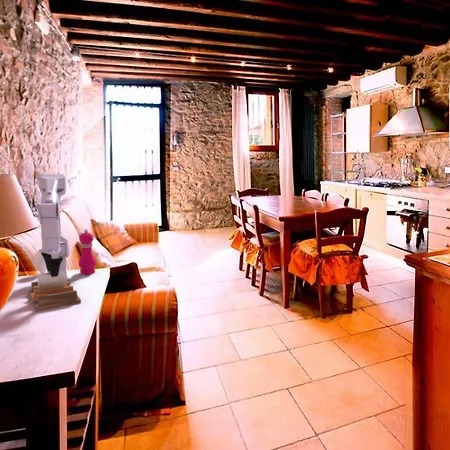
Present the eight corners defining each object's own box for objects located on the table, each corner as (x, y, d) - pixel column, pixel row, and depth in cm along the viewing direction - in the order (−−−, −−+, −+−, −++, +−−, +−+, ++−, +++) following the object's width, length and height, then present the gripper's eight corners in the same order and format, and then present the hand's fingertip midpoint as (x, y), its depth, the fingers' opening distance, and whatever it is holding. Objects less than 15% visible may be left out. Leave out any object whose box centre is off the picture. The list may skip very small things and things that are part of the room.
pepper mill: (79, 271, 159) (77, 228, 156) (96, 269, 162) (94, 227, 159) (78, 275, 153) (76, 230, 149) (96, 274, 155) (94, 230, 152)
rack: (28, 292, 131) (28, 282, 130) (68, 286, 139) (68, 276, 138) (36, 311, 115) (35, 299, 114) (80, 302, 123) (80, 291, 122)
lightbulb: (32, 274, 153) (30, 250, 151) (44, 271, 158) (43, 247, 156) (40, 276, 150) (39, 251, 148) (53, 273, 155) (52, 249, 153)
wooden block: (65, 291, 130) (64, 270, 129) (67, 293, 128) (66, 272, 127) (38, 295, 125) (37, 274, 124) (40, 298, 123) (38, 276, 122)
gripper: (35, 234, 127) (37, 270, 129) (41, 241, 115) (43, 281, 117) (56, 232, 131) (58, 267, 133) (64, 239, 119) (66, 277, 121)
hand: (52, 273), depth 125 cm, fingers open, 7 cm apart
